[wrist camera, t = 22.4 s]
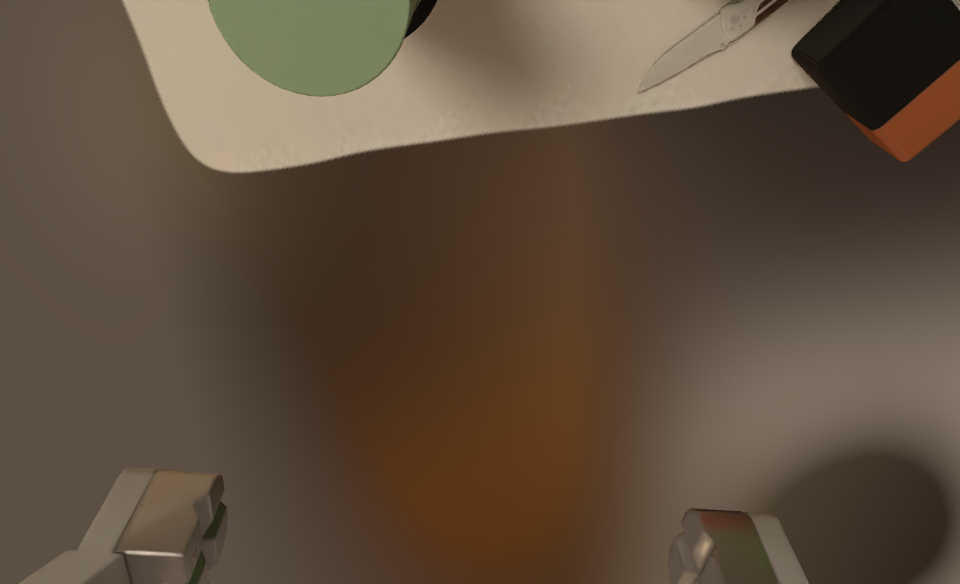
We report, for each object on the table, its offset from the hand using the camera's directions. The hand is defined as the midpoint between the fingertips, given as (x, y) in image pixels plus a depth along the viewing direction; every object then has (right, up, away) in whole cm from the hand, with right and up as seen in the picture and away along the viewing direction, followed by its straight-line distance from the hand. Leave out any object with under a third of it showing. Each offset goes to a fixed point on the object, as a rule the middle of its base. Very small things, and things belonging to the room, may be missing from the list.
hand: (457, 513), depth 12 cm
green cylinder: (-4, +16, +13) cm, 22 cm away
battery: (+21, +20, +26) cm, 38 cm away
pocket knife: (+15, +21, +27) cm, 37 cm away
